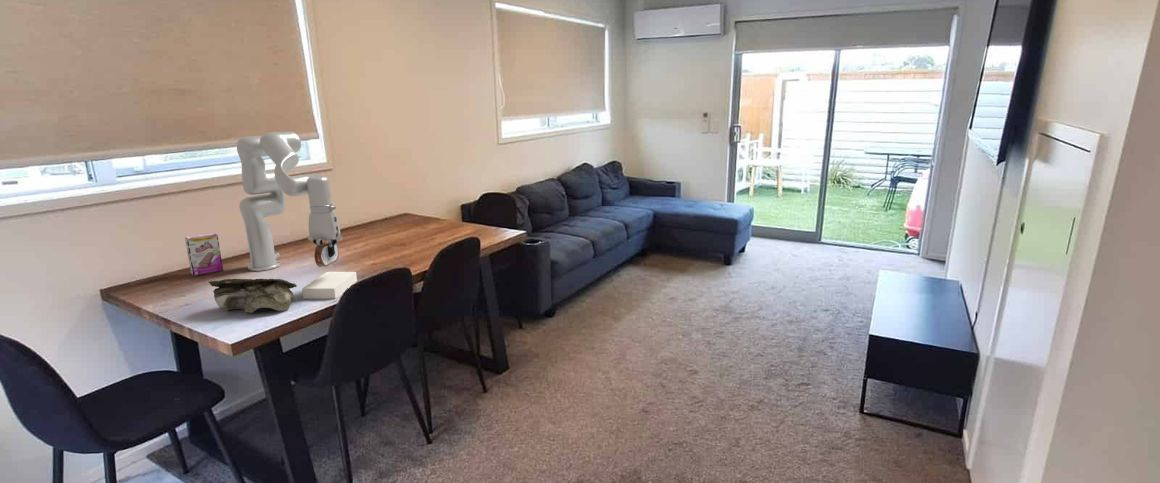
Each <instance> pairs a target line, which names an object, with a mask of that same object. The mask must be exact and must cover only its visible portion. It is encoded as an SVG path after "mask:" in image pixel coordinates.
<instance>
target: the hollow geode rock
mask: <svg viewBox="0 0 1160 483" xmlns="http://www.w3.org/2000/svg"><path fill="white" fill-rule="evenodd" d="M208 283H209V285H210V286H211V287H215V288H214V290H212V292H213V298H214V301H215V302H216V304H217V306H218V307H219V309H220V310H221V309H222V310H224V311H227V312H228V311H231V310H236V309H238V310H244V311H245V313H254V312H255V311H257V310H258V309H262V308H265V309H266V308H267V309H272V310H274V311H277V312H285V311H288V310H289V309H290V307H291V306H290V305H291V302H292V301H291V300H292V299H293V298H294V292H293V291H292V290H291V289H293V288H297V286H298V285H297V284H296V283H294V282H293V283H292V282H290V281H288V280H285V279H282V278H254V279H252V278H248V279H247V278H225V279H224V278H223V279H222V280H221V279H220V280H211V281H208Z"/></svg>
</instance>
